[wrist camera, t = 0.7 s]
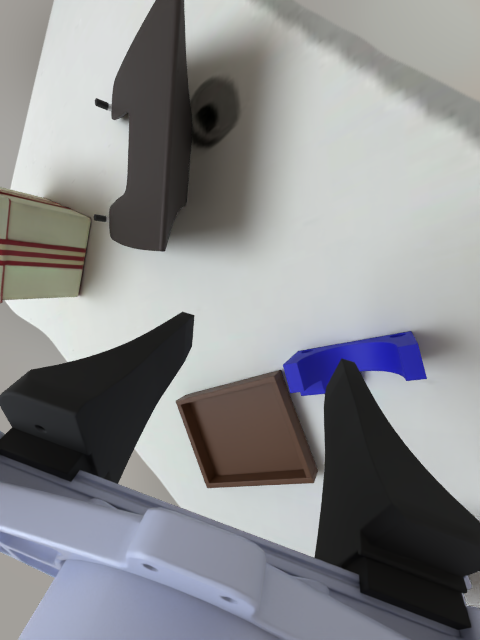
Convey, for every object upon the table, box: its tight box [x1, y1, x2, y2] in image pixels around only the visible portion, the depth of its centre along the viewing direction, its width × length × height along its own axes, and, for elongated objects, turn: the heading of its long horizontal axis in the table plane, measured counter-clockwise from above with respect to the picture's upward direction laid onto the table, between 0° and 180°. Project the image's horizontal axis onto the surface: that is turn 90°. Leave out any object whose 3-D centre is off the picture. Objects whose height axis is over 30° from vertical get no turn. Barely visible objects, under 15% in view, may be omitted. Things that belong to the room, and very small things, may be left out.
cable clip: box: [283, 331, 427, 396], centre depth 29 cm, size 12×4×6 cm, turn 107°
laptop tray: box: [94, 0, 192, 251], centre depth 35 cm, size 23×23×9 cm
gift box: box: [0, 187, 91, 303], centre depth 44 cm, size 17×18×17 cm
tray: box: [176, 370, 318, 488], centre depth 38 cm, size 13×16×2 cm
